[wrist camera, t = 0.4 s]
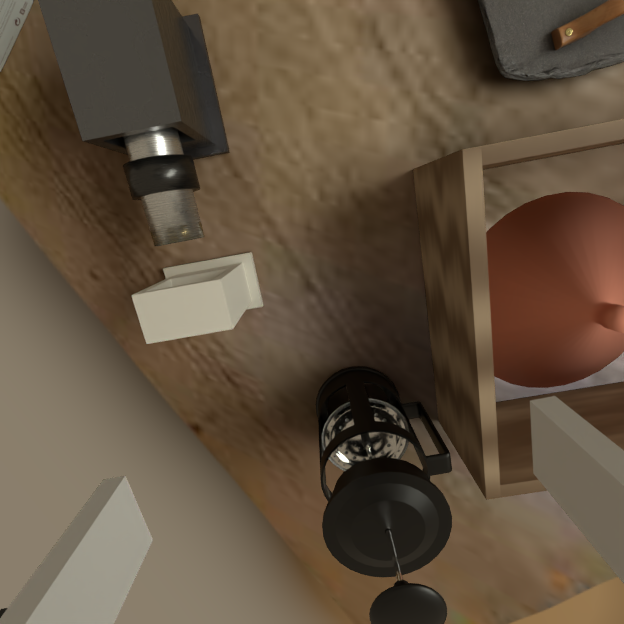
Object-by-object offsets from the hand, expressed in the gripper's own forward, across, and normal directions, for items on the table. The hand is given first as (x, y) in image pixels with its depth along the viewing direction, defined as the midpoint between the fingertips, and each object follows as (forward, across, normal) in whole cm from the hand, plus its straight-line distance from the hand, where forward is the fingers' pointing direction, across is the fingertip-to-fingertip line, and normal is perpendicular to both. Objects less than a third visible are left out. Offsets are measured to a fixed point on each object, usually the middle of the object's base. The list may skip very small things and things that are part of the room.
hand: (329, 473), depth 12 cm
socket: (+28, -10, +2) cm, 29 cm away
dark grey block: (+28, -10, +20) cm, 36 cm away
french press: (+27, +2, -14) cm, 31 cm away
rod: (+24, -10, +15) cm, 30 cm away
